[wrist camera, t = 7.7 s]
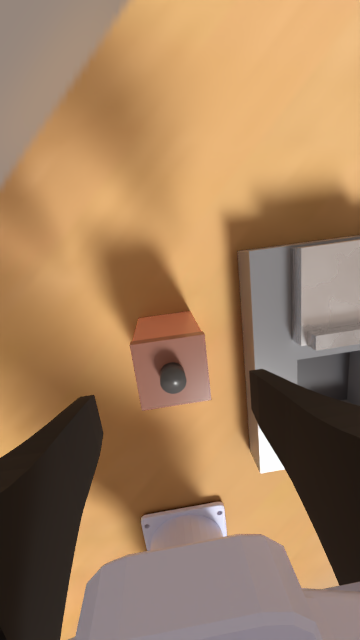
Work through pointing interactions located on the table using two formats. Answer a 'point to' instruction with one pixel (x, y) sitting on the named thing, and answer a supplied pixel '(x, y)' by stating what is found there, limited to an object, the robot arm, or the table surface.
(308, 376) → the socket plate
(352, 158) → the table surface
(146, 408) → the plug
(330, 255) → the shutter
